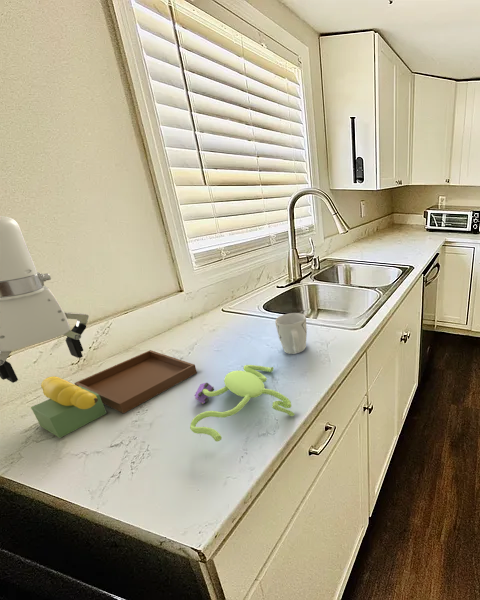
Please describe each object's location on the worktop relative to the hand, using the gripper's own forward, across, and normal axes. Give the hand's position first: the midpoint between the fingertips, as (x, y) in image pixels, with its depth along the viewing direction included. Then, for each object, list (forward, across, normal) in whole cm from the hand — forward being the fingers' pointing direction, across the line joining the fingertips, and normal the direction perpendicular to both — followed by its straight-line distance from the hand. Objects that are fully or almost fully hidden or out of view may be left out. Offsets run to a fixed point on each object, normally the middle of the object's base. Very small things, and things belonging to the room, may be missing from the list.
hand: (46, 367), depth 65 cm
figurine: (+12, -18, +31) cm, 38 cm away
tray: (+13, -14, -1) cm, 20 cm away
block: (+13, 0, +1) cm, 13 cm away
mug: (+12, -42, +25) cm, 51 cm away
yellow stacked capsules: (+8, 0, +1) cm, 8 cm away
